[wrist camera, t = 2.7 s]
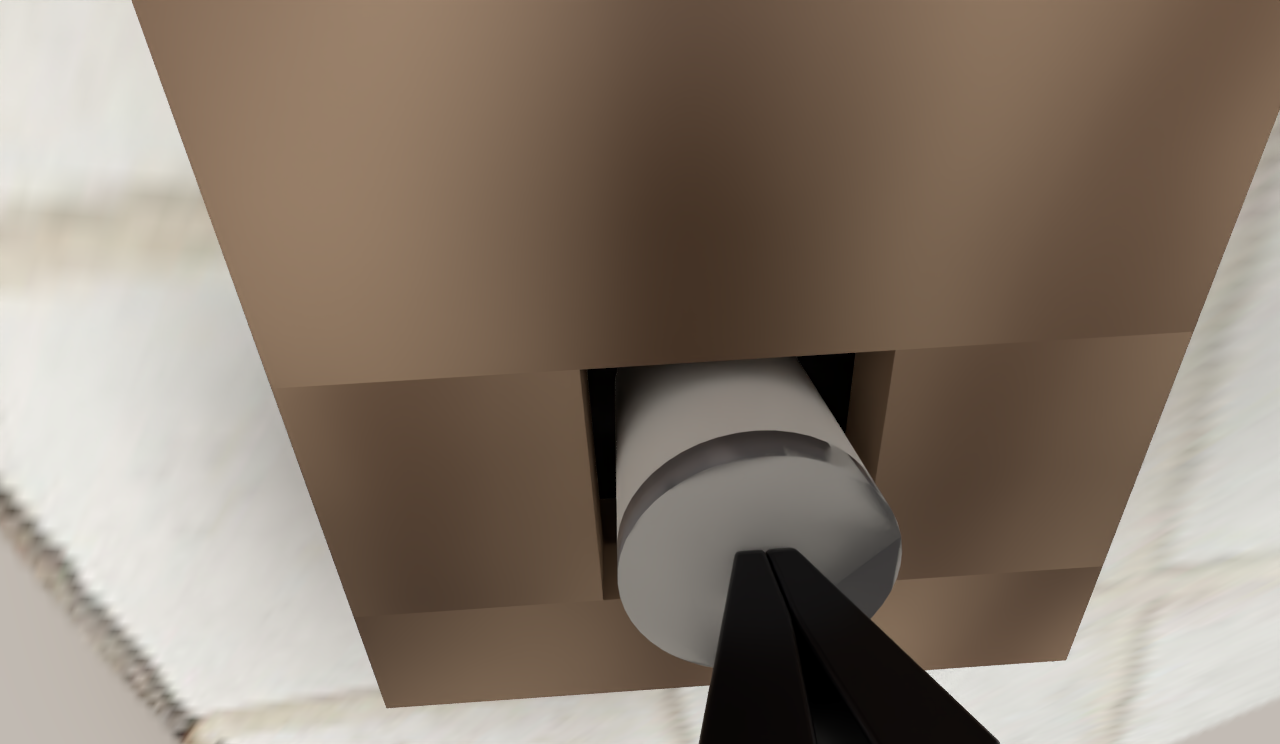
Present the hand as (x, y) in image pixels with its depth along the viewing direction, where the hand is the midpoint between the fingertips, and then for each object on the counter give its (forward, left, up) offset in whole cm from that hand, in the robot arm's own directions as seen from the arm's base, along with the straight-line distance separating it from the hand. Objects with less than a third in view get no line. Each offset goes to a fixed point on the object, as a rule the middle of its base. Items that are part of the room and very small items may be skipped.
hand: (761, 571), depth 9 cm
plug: (0, 0, -6) cm, 6 cm away
